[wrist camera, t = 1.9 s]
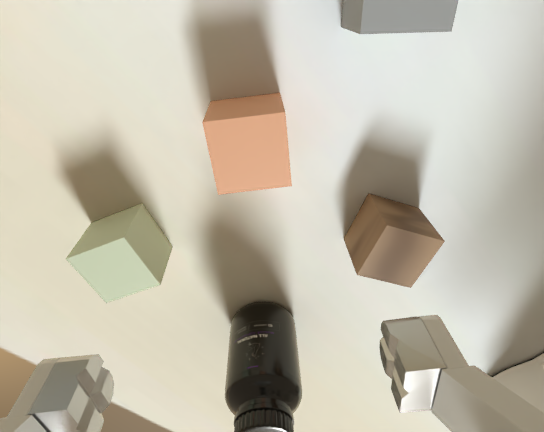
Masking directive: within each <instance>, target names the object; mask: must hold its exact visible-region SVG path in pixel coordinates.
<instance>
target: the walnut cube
mask: <svg viewBox="0 0 544 432" xmlns="http://www.w3.org/2000/svg"><path fill="white" fill-rule="evenodd" d="M344 241H345V244H346V246H347V249H348V252H349V254H350V257H351V260H352V263H353V265H354V268H355V271H356V273H357V275H360V276H364V277H368V278H373V279H377V280H381V281H385V282H389V283H393V284H397V285H402V286H406V287H410V288H411V287H412V285H413V284H414V283H415V281H416V280H417V279H418V277H419V276H420V274H421V273H422V272H423V270H424V269H425V268H426V266H427V265H428V263H429V262H430V261H431V259H432V258H433V257H434V255H435V254H436V252H437V251H438V250H439V248H440V247H441V246H442V244H443V243H444V240H443V238H442V237H441V236H440V235H439V233H438V232H437V231H436V229H435V228H434V227H433V226H432V224H431V223H430V222H429V220H428V219H427V218H426V217H425V215H424V214H423V213H422V211H421V210H420V209H419V208H417V207H413V206H410V205H407V204H403V203H400V202H396V201H393V200H390V199H386V198H383V197H380V196H376V195H373V194H370V193H368V195H367V197H366V199H365V201H364V202H363V204H362V206H361V208H360V210H359V212H358V213H357V215H356V217H355V219H354V221H353V223H352V225H351V226H350V228H349V230H348V232H347V234H346V236H345V237H344Z"/></svg>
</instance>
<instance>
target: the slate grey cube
mask: <svg viewBox="0 0 544 432" xmlns="http://www.w3.org/2000/svg"><path fill="white" fill-rule="evenodd" d="M457 4H458V0H343V7H342V20H341V27H342V28H345V29H348V30H350V31H353V32H356V33H359V34H378V33H413V32H449V31H452V27H453V22H454V18H455V13H456V9H457Z"/></svg>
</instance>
